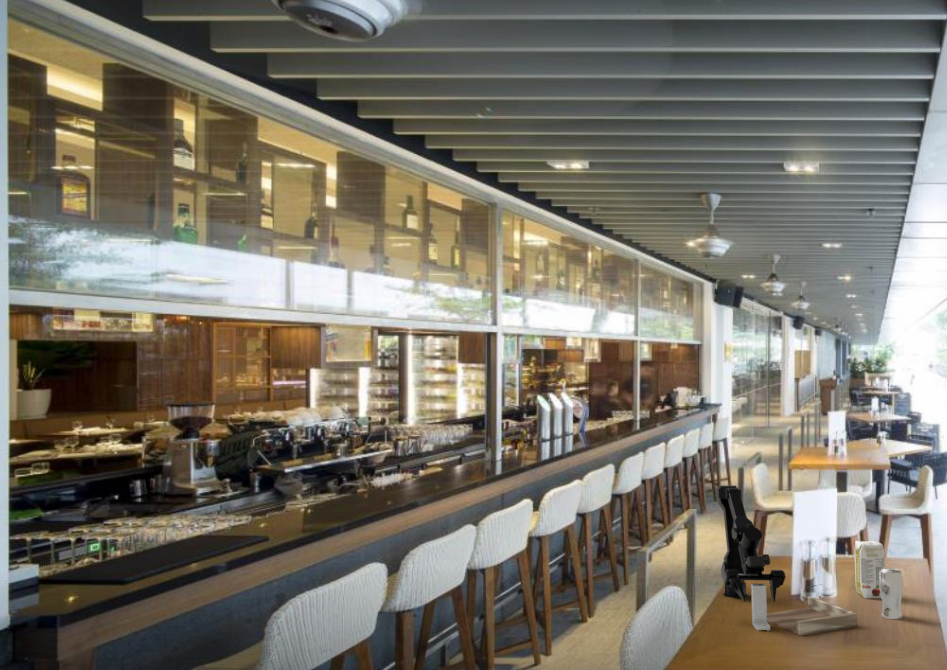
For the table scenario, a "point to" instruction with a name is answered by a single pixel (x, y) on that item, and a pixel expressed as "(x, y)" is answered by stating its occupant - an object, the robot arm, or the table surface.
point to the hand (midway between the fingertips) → (759, 601)
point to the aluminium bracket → (759, 607)
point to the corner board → (814, 618)
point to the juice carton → (868, 568)
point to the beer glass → (891, 592)
